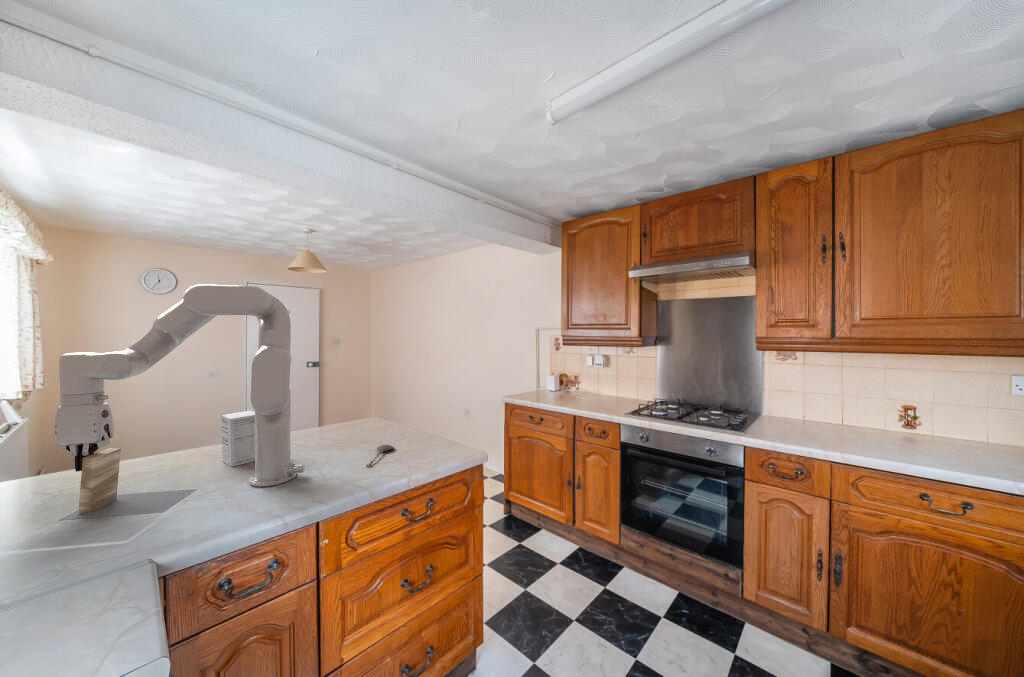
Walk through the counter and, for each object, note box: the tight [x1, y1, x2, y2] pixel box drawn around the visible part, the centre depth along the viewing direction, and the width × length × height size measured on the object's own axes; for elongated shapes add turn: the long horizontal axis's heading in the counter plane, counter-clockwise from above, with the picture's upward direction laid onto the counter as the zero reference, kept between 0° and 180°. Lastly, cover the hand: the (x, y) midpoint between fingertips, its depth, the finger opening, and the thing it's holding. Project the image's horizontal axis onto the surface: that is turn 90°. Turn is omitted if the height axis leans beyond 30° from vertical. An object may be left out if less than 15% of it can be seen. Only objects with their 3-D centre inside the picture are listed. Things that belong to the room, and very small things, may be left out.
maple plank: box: [78, 447, 122, 513], centre depth 99 cm, size 3×8×14 cm, turn 12°
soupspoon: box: [365, 444, 395, 468], centre depth 140 cm, size 22×3×7 cm
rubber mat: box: [57, 488, 198, 521], centre depth 100 cm, size 22×14×1 cm, turn 101°
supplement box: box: [220, 410, 255, 468], centre depth 134 cm, size 10×9×17 cm
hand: (84, 469), depth 98 cm, fingers closed
